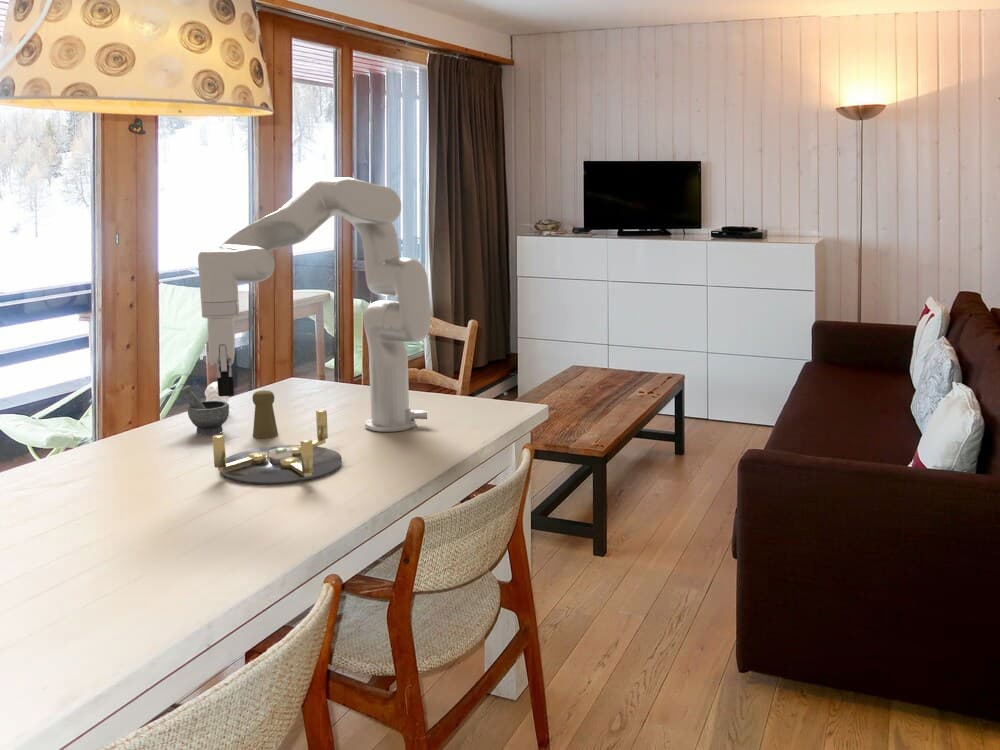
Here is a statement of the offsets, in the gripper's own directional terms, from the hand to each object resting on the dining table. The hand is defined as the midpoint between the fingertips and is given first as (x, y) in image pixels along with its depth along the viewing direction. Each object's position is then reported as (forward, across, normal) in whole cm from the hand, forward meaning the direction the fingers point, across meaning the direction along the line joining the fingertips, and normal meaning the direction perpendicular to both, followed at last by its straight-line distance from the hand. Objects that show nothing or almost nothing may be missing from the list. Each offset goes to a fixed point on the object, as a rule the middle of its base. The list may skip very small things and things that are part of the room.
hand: (226, 395), depth 215 cm
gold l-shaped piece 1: (+15, +1, +2) cm, 16 cm away
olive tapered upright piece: (+17, -29, +8) cm, 35 cm away
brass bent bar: (+15, -8, +17) cm, 24 cm away
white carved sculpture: (+17, -52, -4) cm, 55 cm away
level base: (+17, -1, +11) cm, 20 cm away
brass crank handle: (+15, +8, +14) cm, 22 cm away
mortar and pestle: (+17, -36, -6) cm, 40 cm away
